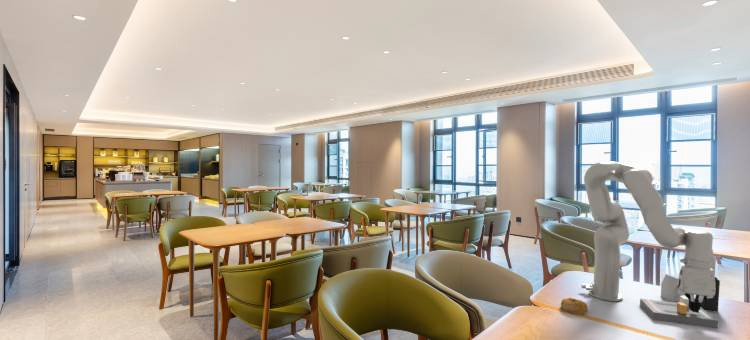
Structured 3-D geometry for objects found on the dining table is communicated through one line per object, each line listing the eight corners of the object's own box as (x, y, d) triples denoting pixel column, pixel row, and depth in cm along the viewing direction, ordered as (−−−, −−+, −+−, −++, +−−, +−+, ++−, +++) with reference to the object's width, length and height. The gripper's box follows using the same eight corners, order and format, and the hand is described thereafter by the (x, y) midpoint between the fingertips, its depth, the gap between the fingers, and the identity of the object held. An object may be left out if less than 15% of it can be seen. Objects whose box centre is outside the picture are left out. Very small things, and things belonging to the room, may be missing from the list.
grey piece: (674, 302, 158) (675, 279, 158) (660, 296, 165) (662, 274, 164) (682, 302, 159) (683, 279, 158) (668, 295, 165) (669, 274, 165)
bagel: (593, 310, 148) (593, 299, 148) (581, 318, 142) (581, 306, 141) (568, 302, 156) (568, 291, 156) (555, 309, 149) (555, 298, 149)
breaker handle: (680, 313, 139) (680, 305, 139) (676, 310, 142) (677, 301, 142) (686, 314, 138) (687, 305, 138) (682, 311, 141) (683, 302, 141)
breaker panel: (653, 319, 141) (654, 303, 140) (639, 305, 154) (640, 290, 154) (718, 328, 134) (719, 311, 134) (698, 312, 148) (699, 296, 147)
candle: (719, 311, 149) (723, 251, 148) (704, 310, 150) (708, 250, 149) (710, 306, 154) (714, 248, 153) (696, 305, 155) (700, 247, 154)
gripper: (678, 264, 137) (674, 312, 138) (728, 268, 132) (724, 318, 133) (669, 258, 144) (666, 304, 145) (716, 262, 139) (712, 310, 140)
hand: (694, 311), depth 139 cm, fingers closed
